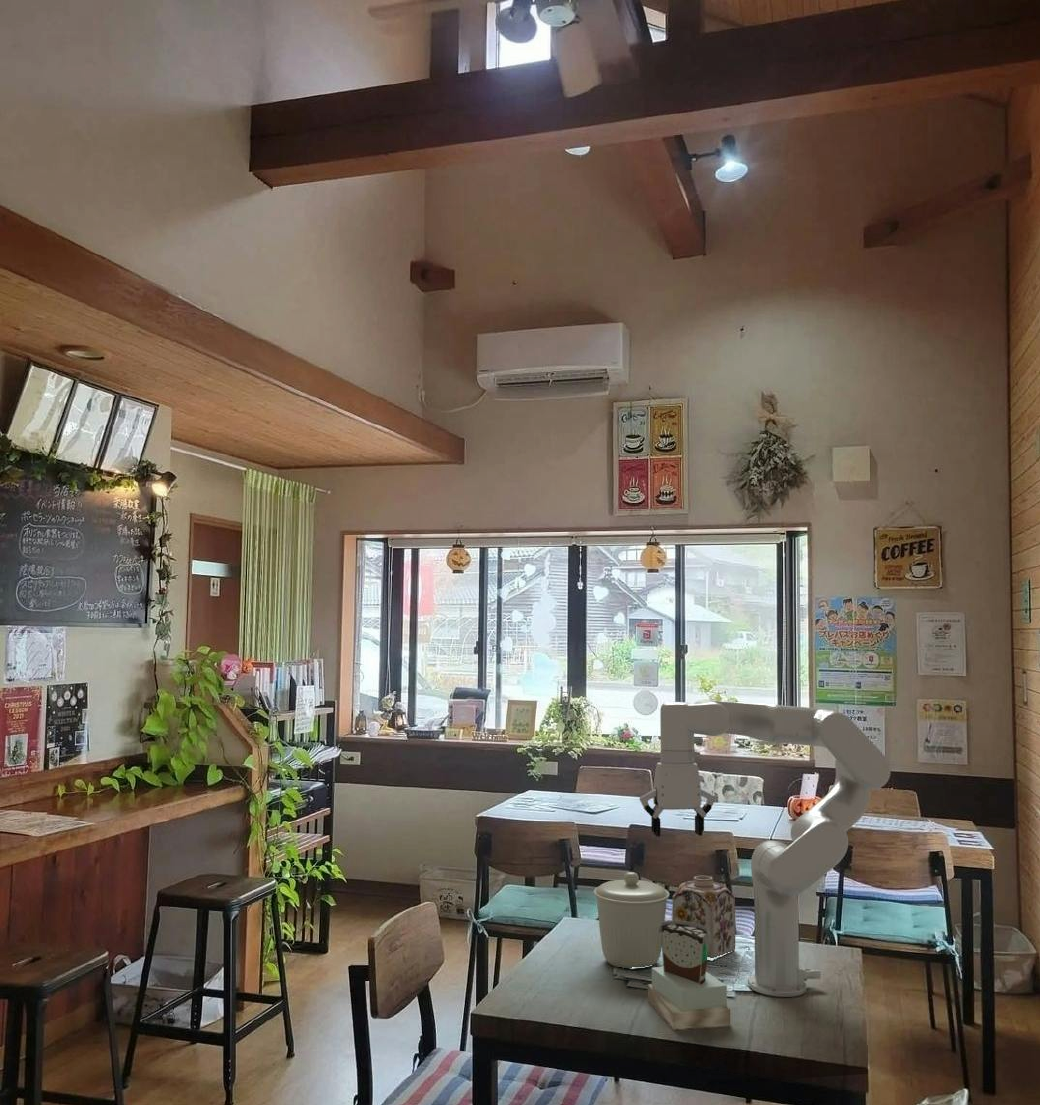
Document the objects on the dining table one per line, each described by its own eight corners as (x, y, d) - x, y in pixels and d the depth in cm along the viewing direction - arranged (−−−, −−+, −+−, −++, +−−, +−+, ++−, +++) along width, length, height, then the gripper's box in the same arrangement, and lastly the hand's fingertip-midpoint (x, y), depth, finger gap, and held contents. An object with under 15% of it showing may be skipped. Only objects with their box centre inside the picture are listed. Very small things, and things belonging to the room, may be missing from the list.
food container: (724, 980, 202) (724, 930, 203) (705, 987, 198) (705, 936, 199) (676, 964, 211) (676, 916, 212) (658, 970, 207) (658, 922, 208)
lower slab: (701, 1000, 212) (700, 981, 212) (730, 1029, 197) (730, 1009, 197) (647, 1003, 210) (647, 984, 210) (673, 1033, 194) (673, 1012, 195)
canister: (579, 957, 237) (579, 868, 239) (640, 946, 246) (640, 860, 248) (621, 981, 221) (621, 885, 223) (685, 968, 230) (684, 876, 232)
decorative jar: (712, 963, 234) (712, 885, 236) (670, 952, 242) (670, 877, 243) (737, 951, 243) (736, 876, 245) (696, 941, 251) (695, 869, 252)
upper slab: (693, 982, 212) (693, 963, 212) (726, 1006, 198) (726, 985, 199) (651, 987, 209) (651, 967, 209) (682, 1011, 195) (682, 990, 196)
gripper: (708, 755, 226) (709, 830, 224) (635, 755, 223) (635, 832, 222) (720, 759, 218) (720, 837, 217) (644, 760, 216) (644, 839, 215)
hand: (677, 835), depth 219 cm, fingers open, 9 cm apart
